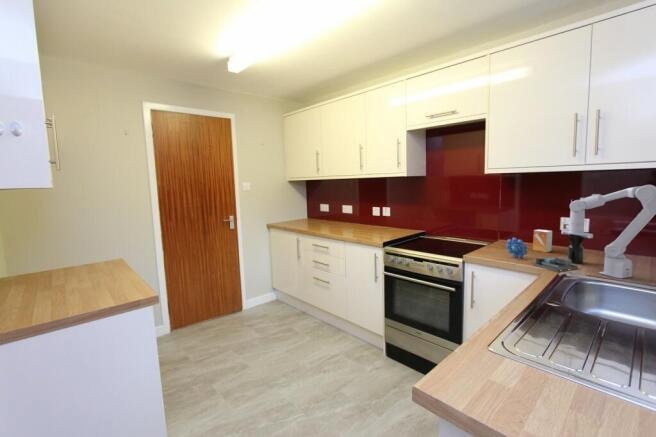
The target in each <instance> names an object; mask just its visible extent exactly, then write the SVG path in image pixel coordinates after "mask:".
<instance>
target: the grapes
mask: <svg viewBox="0 0 656 437" xmlns="http://www.w3.org/2000/svg"><path fill="white" fill-rule="evenodd" d="M505 247H506V249H507V253H508V254H511V255H512V256H513V257H514V258H521V259H522V258H525V255H527V254H528V250H527V249H528V246H527V245H526V244H525V243H524V240H522V239H520V238H519V239H517V238H516V237H512V238H508V239H507V243H506V244H505Z"/></svg>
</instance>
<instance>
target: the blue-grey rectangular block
mask: <svg viewBox="0 0 656 437" xmlns="http://www.w3.org/2000/svg"><path fill="white" fill-rule="evenodd" d="M541 258H542V261H543V262H546V263H550V264H554V265H556V259H555V258H554V257H551V258H550V256H546V257H541Z"/></svg>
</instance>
